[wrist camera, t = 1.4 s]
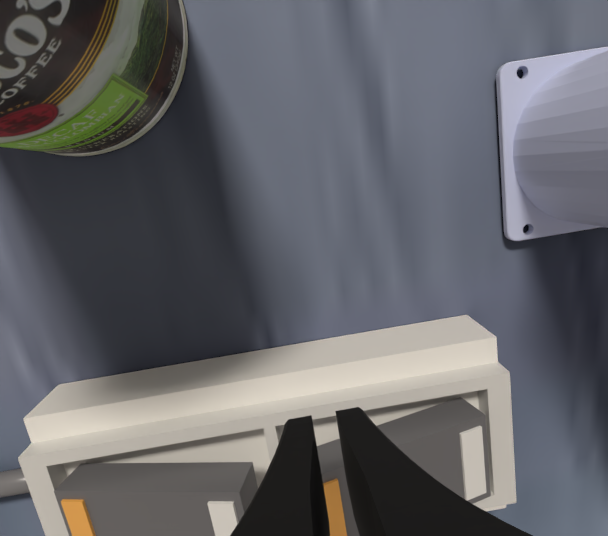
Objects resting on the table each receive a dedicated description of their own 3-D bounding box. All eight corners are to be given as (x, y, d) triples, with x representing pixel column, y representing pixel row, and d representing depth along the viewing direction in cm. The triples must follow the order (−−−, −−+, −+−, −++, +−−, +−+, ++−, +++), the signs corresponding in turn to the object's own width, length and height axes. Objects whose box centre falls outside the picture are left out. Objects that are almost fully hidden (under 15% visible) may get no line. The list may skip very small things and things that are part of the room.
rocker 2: (460, 396, 19) (487, 416, 17) (466, 472, 20) (492, 497, 18) (290, 455, 17) (303, 483, 15) (306, 536, 18) (319, 571, 16)
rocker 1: (252, 461, 17) (238, 495, 15) (269, 543, 18) (258, 582, 16) (80, 463, 19) (51, 493, 17) (104, 537, 19) (79, 572, 18)
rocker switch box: (466, 314, 21) (508, 346, 18) (477, 465, 23) (517, 524, 20) (-63, 405, 21) (-141, 458, 17) (-4, 552, 23) (-62, 629, 19)
